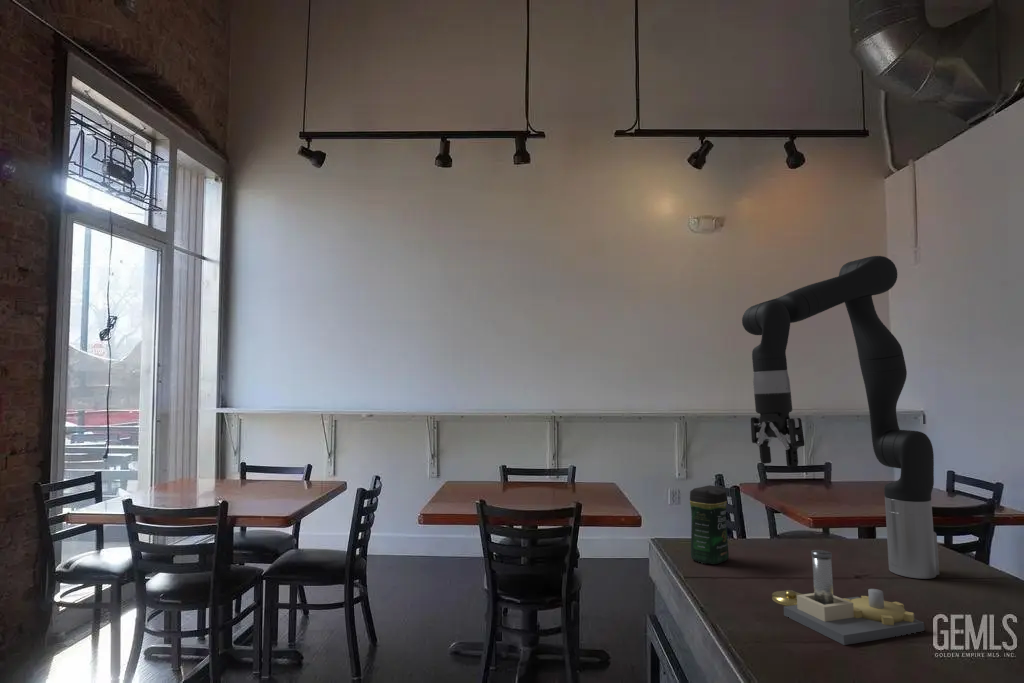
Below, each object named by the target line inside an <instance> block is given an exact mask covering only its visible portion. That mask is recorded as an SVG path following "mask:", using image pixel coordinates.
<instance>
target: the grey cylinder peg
mask: <svg viewBox="0 0 1024 683" xmlns="http://www.w3.org/2000/svg"><path fill="white" fill-rule="evenodd" d="M810 554H811V559H812V560H811V561H812V578H813V593H814V600H815V601H817V602H819V603H821V604H824V605H826V604H833V603H834V597H833V595H834V584H833V583H834V582H833V581H834V580H833V567H832V566H833V565H832V559H833V558H832V557H833V556H832V555H833V554H832V552H831V551H829V550H825V549H824V550H822V549H812V550H810Z"/></svg>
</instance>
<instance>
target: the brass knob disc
mask: <svg viewBox="0 0 1024 683" xmlns="http://www.w3.org/2000/svg"><path fill="white" fill-rule="evenodd" d="M802 594H803V593H800V592H798V591H797V592H796V591H795V590H791V589H786V590H777V591H774V592H772V594H771V597H772V598H771V600H772V601H773V602H774V603H776V604H778V605H781V606H783V607H785V606H792V605H797V595H802Z"/></svg>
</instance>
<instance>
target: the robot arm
mask: <svg viewBox="0 0 1024 683" xmlns="http://www.w3.org/2000/svg"><path fill="white" fill-rule="evenodd" d="M897 280H898V269H897V267H896V265H895V263H894V261H893V260H891V259H890V258H888V257H886V256H883V255H873V256H872V255H871V256H868V257H863V258H860V259H856V260H852V261H849V262H847V263H845V264H843V265H842V267H840V269H839V273H838V276H836V277H832V278H829V279H825V280H822V281H819V282H815V283H811V284H807V285H805V286H802V287H800V288H797V289H794V290H792V291H790V292H788V293H786V294H783V295H782V296H779V297H776V298H772V299H770V300H767V301H763V302H760V303H757V304H755V305H752V306H750V307H749V308H747V309H746V310H745V311H744V313H743V314H742V318H741V323H742V326H743V329H744V330H745V332H747V333H749V334H750V335H753V336H761V340H760V343H759V344H758V345H756V346H755V347H754V348H753V349H752V351H751V359H752V370H753V381H752V382H753V385H752V386H753V395H754V406H755V408H754V409H755V412H756V413H757V414H760V415H759V416H754V417H752V416H751V417H750V433H751V435H750V436H751V442H752V444H756V446H757V447H759V448H758V449H759V458H760V462H761V463H762V464H771V463H772V454H771V446H770V443H771V442H772V440H773V439H774V438H777V439H778V440H779V442H782V444H783V445H784V448H785V457H786V459H785V460H786V466H787V467H788V468H797V467H798V465H799V457H798V456H799V454H798V449H799V448H802V447H804V446H805V445H806V444H805V437H804V431H803V430H804V429H803V423H802V422H803V421H802V419H801V417H795V418H792V417H790V413H791V412H793V402H792V392H791V391H792V390H791V382H790V377H789V372H788V362H787V354H786V350H787V346H788V342H789V341H788V340H789V335H790V329H791V324H792V323H797V322H798V323H799V322H800V321H804V320H806V319H809V318H812V317H814V316H816V315H818V314H821V313H823V312H825V311H827V310H830V309H831V308H834V307H836V306H839V305H842V304H844V305H845V308H846V312H847V314H848V317H849V320H850V325H851V328H852V331H853V337H854V340H855V346H856V350H857V351H856V352H857V357H858V361H859V362H858V363H859V366H860V371H861V375H862V380H863V383H864V389H865V393H866V400H867V405H868V410H869V411H868V412H869V413H868V414H869V420H870V421H869V422H870V433H871V440H872V441H871V442H872V443H871V444H872V449H873V452H874V455H875V458H876V459H877V461H878V462H879V463H880V464H881V465H882V466H885V467H887V468H892V469H893V468H895V469H900V477H899V479H897V480H896V481H894V482H889V483H887V484H884V488H883V489H884V490H883V491H884V504H885V505H884V507H885V508H884V509H885V521H886V522H885V523H886V524H885V525H886V539H887V540H886V541H887V542H886V543H887V557H888V558H887V559H888V570H889V571H890V572H891V573H892V574H895V575H898V576H902V577H906V578H912V579H923V580H924V579H925V580H927V579H934V578H936V577H937V576H939V575H940V565H939V564H940V563H939V548H938V537H937V533H936V531H934V519H933V506H932V505H933V502H932V492H933V489H934V483H935V480H934V478H935V476H934V475H935V473H934V470H935V469H934V468H935V467H934V466H935V464H934V463H935V462H934V461H935V460H934V459H935V458H934V456H935V455H934V454H935V453H934V448H933V443H932V441H931V439H930V438H929V436H928V435H927V434H926V433H924V432H922V431H918V430H911V429H910V430H909V429H900V427H899V423H898V418H897V404H898V401H899V399H900V396H901V394H902V391H903V389H904V386H905V383H906V380H907V376H908V373H907V372H908V371H907V365H906V360H905V355H904V351H903V348H902V346H901V344H900V342H899V340H898V339H897V338H896V337H895V335H894V334H893V333H892V332H891V331H890V329H888V327H887V326H886V325H885V324H884V323H883V321H881V318H879V315H878V314H877V311H876V308H875V304H874V299H873V296H876V295H881V294H885V293H886V292H888V291H889V290H891V289H892V288H894V287H895V285H896V283H897ZM757 433H758V437H757Z"/></svg>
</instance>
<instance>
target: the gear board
mask: <svg viewBox="0 0 1024 683" xmlns="http://www.w3.org/2000/svg"><path fill="white" fill-rule="evenodd" d="M867 591H868V592H867V593H868V595H861V596H860V597H859V596H852V597H851V596H850V597H844V598H842V597H839V596H837V595H834V594H833V597H834V603H833V604H826V605H824V604H821V603H819V602H817V601H815V600H814V592H812V593H811V592H810V593H801V594H802V595H797V605H792V606H783V616H784V617H786V618H788V617H789V619H790V620H793V621H794V622H797V623H799V624H801V625H803V626H804V627H807V628H809V629H811V630H813V631H814V632H816V633H818V634H821V635H823V636H825V637H826V638H830V639H831V640H833V641H835V642H837V643H839V644H840V645H843V646H846V645H853V644H858V643H860V644H861V643H865V642H866V643H867V642H871V641H878V640H884V639H889V638H895V636H896V637H901V635H902V636H906V634H908V635H912V634H911V633H914V634H917V633H916V632H920V631H924V630H925V622H923V621H921V620H918V619H916V618H915V613H914V612H910V611H907V610H906V609H905V604H904V603H902V602H899V601H887V600H885V599H884V597H885V596H884V591H883V590H881V589H877V588H869V589H867Z"/></svg>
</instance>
